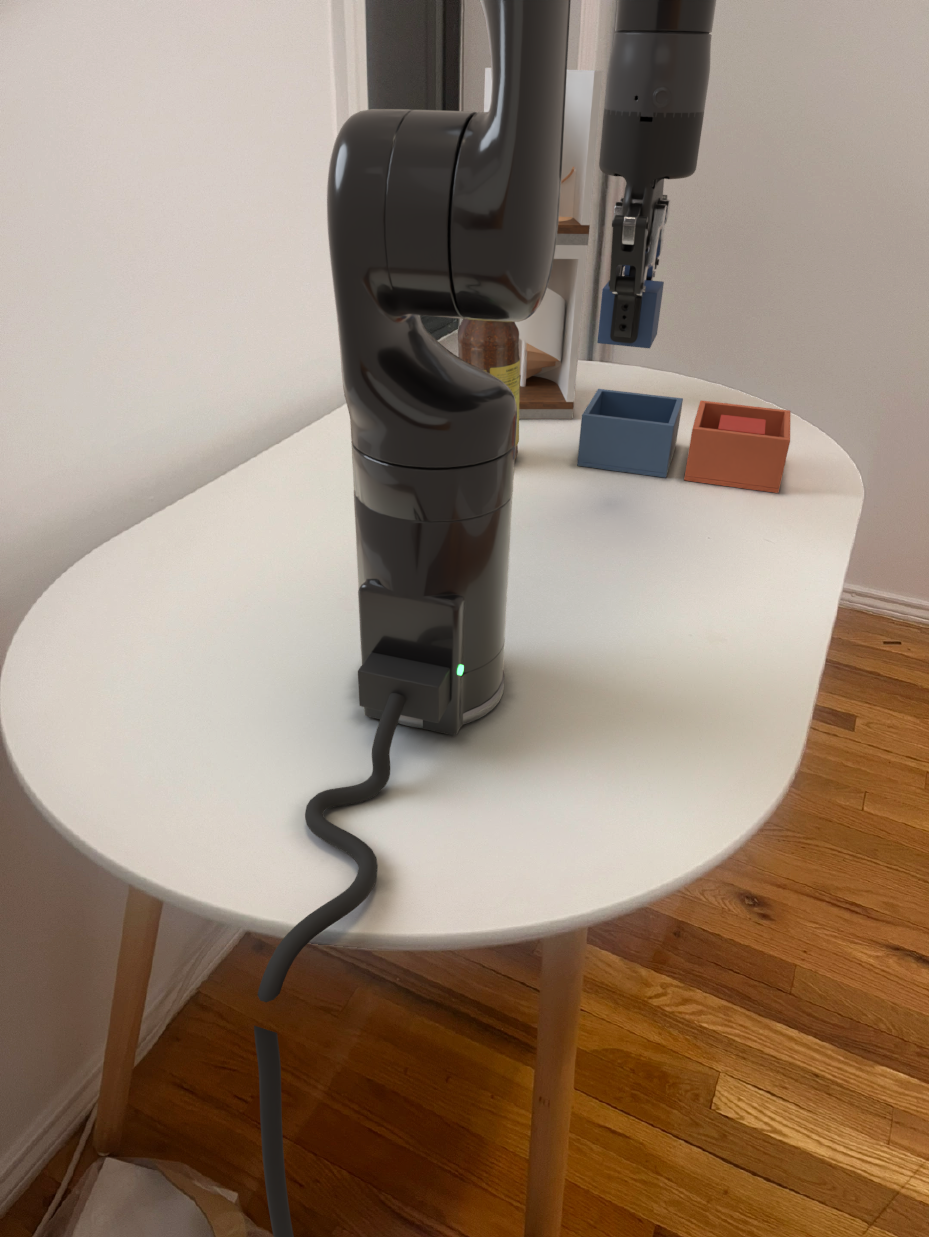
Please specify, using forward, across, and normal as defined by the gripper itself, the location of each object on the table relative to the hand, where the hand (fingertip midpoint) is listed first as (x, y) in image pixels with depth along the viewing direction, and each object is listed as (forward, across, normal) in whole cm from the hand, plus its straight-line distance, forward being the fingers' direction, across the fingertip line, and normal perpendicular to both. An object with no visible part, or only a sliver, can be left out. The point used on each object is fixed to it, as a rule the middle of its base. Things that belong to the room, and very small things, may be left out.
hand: (628, 332), depth 76 cm
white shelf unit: (+17, -25, -15) cm, 34 cm away
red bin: (+16, -12, +11) cm, 23 cm away
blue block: (+1, 0, 0) cm, 1 cm away
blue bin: (+16, -12, 0) cm, 20 cm away
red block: (+16, -12, +11) cm, 23 cm away
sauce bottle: (+16, -6, -14) cm, 22 cm away
